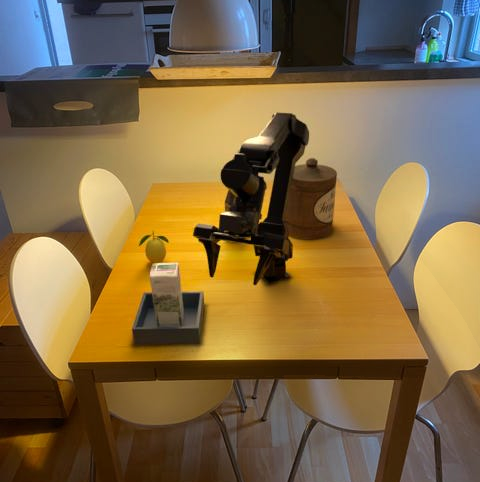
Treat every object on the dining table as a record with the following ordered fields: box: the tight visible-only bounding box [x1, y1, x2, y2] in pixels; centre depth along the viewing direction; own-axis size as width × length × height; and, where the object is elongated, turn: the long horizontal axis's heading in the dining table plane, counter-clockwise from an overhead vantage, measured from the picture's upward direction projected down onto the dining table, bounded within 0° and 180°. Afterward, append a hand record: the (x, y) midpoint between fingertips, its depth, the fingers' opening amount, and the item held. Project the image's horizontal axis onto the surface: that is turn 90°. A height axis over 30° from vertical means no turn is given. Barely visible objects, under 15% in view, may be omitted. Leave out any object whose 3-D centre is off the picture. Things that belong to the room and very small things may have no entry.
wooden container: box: [285, 157, 338, 240], centre depth 140 cm, size 15×15×22 cm
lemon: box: [138, 230, 170, 263], centre depth 127 cm, size 7×6×10 cm
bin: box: [131, 291, 205, 346], centre depth 105 cm, size 14×14×4 cm
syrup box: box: [149, 262, 184, 327], centre depth 102 cm, size 6×6×14 cm
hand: (232, 281), depth 94 cm, fingers open, 9 cm apart
